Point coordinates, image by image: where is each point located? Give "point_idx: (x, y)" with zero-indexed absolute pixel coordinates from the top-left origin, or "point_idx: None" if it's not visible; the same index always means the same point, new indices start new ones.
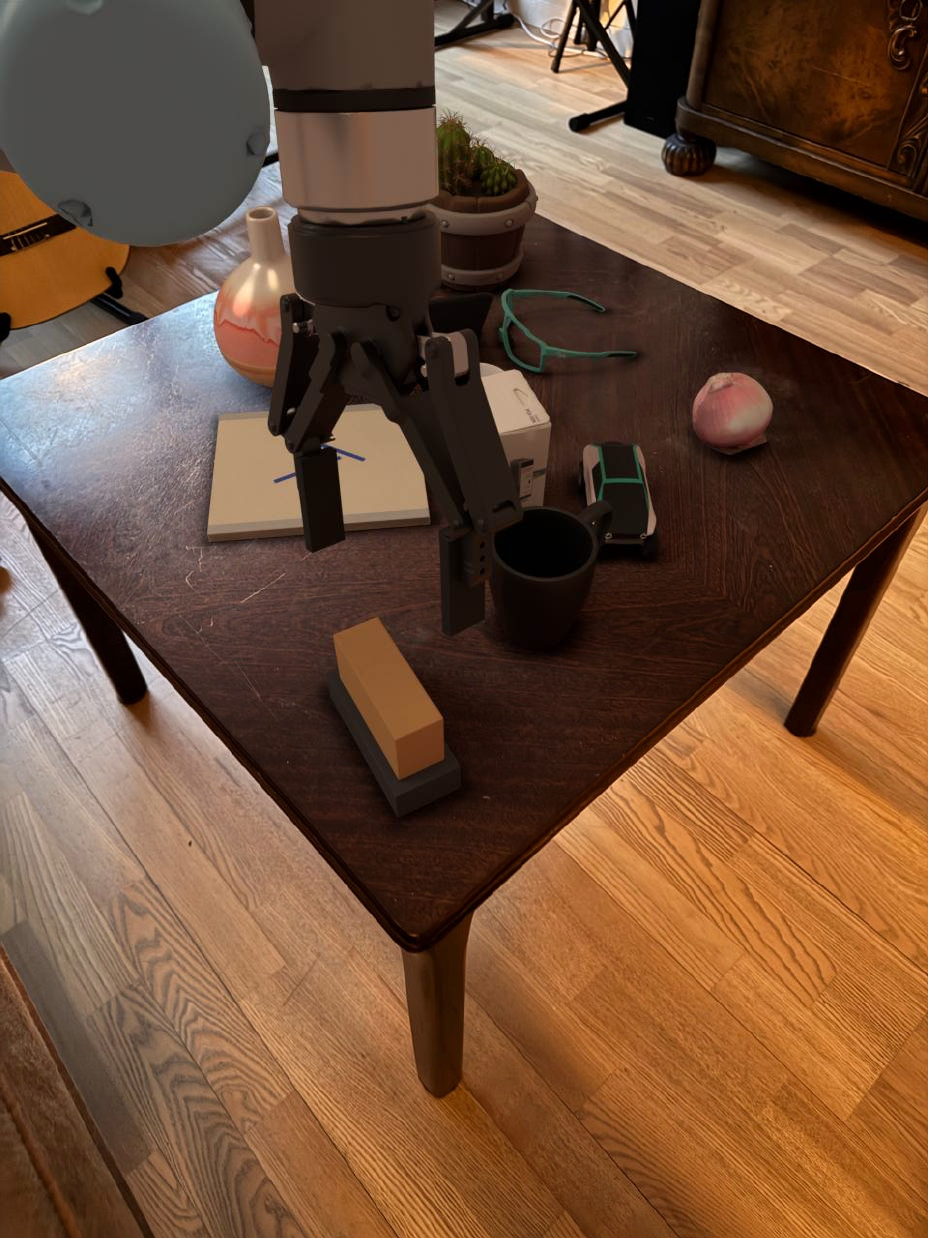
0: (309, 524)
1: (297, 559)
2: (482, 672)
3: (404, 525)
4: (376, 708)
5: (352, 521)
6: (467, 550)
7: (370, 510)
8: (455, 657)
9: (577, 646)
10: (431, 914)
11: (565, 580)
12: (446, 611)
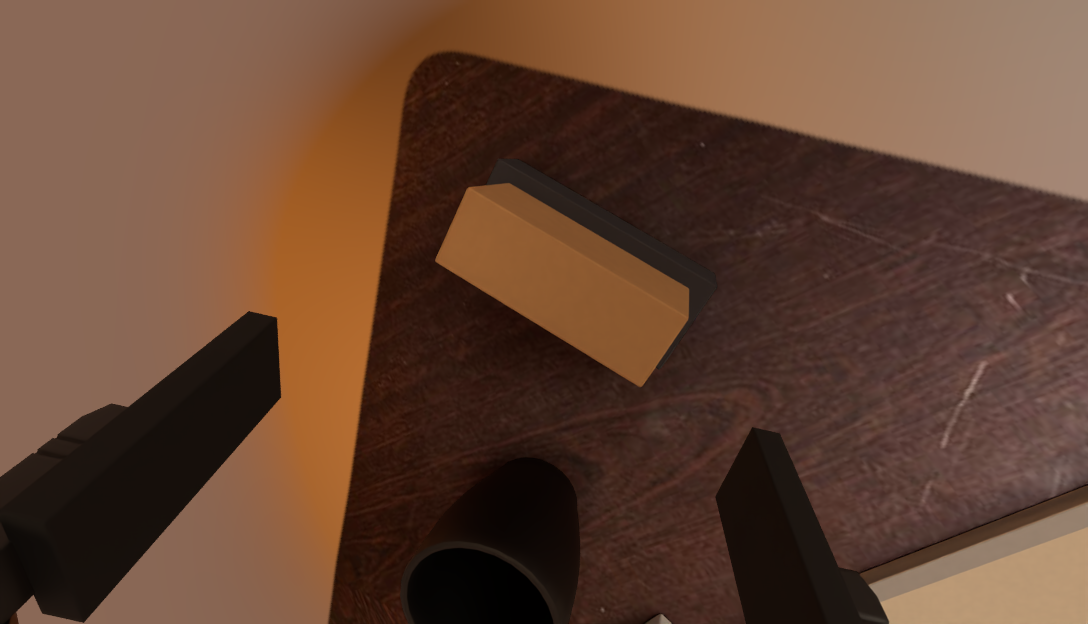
0: (774, 489)
1: (939, 481)
2: (550, 403)
3: None
4: (528, 223)
5: (885, 581)
6: (17, 486)
7: None
8: (594, 410)
9: (475, 484)
10: (415, 75)
11: (413, 556)
12: (222, 346)
